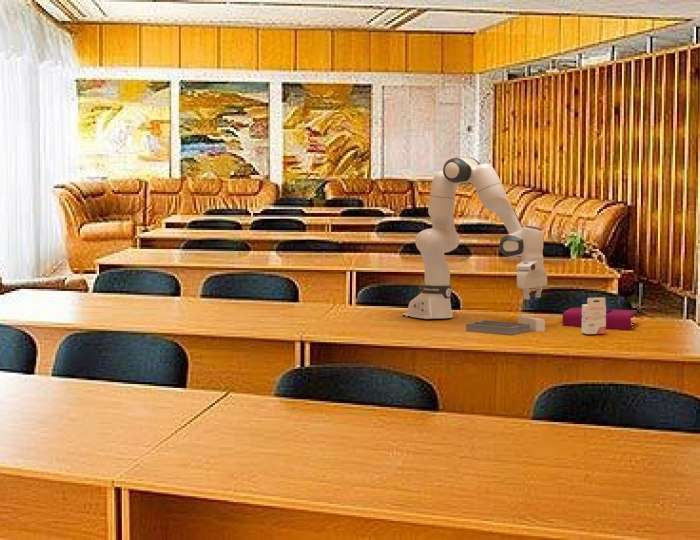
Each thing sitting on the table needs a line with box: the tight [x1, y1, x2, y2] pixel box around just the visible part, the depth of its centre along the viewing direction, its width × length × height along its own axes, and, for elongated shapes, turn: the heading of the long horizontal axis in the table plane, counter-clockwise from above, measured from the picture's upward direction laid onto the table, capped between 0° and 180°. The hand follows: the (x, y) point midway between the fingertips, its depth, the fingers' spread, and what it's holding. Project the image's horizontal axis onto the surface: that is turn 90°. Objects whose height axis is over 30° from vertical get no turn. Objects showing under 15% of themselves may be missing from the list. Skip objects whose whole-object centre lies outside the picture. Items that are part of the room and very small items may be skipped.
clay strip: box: [517, 315, 546, 332], centre depth 442 cm, size 16×4×5 cm, turn 19°
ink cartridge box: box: [581, 297, 607, 335], centre depth 429 cm, size 9×5×15 cm, turn 105°
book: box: [562, 306, 637, 331], centre depth 451 cm, size 21×28×8 cm
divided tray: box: [465, 319, 530, 336], centre depth 434 cm, size 21×15×3 cm
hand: (532, 298), depth 441 cm, fingers open, 8 cm apart
